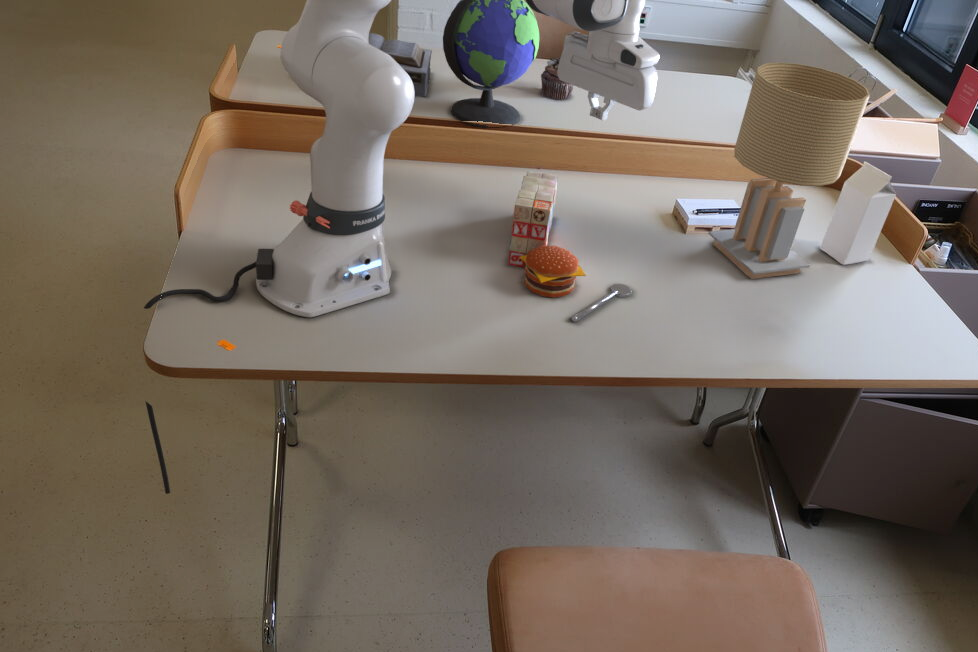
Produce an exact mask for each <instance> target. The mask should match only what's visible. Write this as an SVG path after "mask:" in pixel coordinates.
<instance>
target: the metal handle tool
mask: <svg viewBox="0 0 978 652" xmlns="http://www.w3.org/2000/svg"><path fill="white" fill-rule="evenodd" d="M631 294H632V288H631V287H630V286H628V285H626V284H623V283H615V284H613V285H611V287H610V293H608V294H606V295H605V296H603V297H601V298H600V299H598V300H597V301H595V302H593V303H592V304H590V305H589V306H587V307H586V308H584V309H582V310H580V311H578V313H576V314H574V315H573V316H572V317H571V321H572V322H573V323H576V322H578V321H579V320H581V319H582V318H584V317H586V316H587V315H589V314H590V313H592V312H593V311H595V310H597V309H598V308H600V307H601V306H603V305H604V304H606V303H607V302H609V301H611V300H612V299H614V298H615V297H619V298H628V297H630V296H631Z"/></svg>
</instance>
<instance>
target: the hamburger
mask: <svg viewBox="0 0 978 652" xmlns="http://www.w3.org/2000/svg"><path fill="white" fill-rule="evenodd" d="M519 258H520V259H522V260H523V261H524V262H525V263H526V267H524V271H525V273H524V276H523V284H524V285H525V287H526V288H527V289H528V290H529V291H530V292H532V293H533V294H536V295H538V296H541V297H547V298H561V297H562V298H563V297H565V296H567V295H570V293H572V292H573V291H574V289H575V284H576V279H577V277H586V276H587V274H586V273H585V271H584V270H583V269H582V267H581V266H580V264H579V259H578V258H577V256H575V255H574V254H573V253H572V252H571V251H570V250H569V249H567V248H563V247H561V246H558V245H550V244H549V245H548V244H547V245H542V246H539V247H537V248H535V249H532V250H530V251H529V252H528V254H527V255H524V256H520V257H519Z"/></svg>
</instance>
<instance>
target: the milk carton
mask: <svg viewBox="0 0 978 652" xmlns="http://www.w3.org/2000/svg"><path fill="white" fill-rule="evenodd" d="M892 178H893V176H892V175H890V174H888V173H886V172H885V171H884V170H881V169H879V168H878V167H876V166H874V165H872V163H869V162H867V161H863V164H862V166H861V167H860V168H859V169H858V170H856V171H855V172H853V174H852V175H851V176H850V177H848V178H847V179H846V180H845V181H844V183H843V186H842V187H841V191H840V193H839V196H838V198H837V202H836V204H835V207H834V209H833V213H832V215H831V218H830V221H829V223H828V226H827V228H826V231H825V234H824V237H823V239H822V242H821V244H820V247H819V249H820V250H821V251H822V252H824V253H825V254H827V255H828V256H830V257H831V258H833V259H834V260H836V261H837V262H838V263H840V264H841V265H842V266H846V265H852V264H857V263H864V262H868V261H869V260H870V259H871V256H872V254H873V251H874V249H875V248H876V244H877V241H878V240H879V238H880V234H881V232H882V229H883V227H884V225H885V222H886V220H887V218H888V216H889V213H890V211H891V208H892V206H893V203H894V201H895V198H896V196H897V193H896V191H895V188H894V187H893V185H892V183H891V180H892Z"/></svg>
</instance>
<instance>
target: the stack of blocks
mask: <svg viewBox="0 0 978 652" xmlns="http://www.w3.org/2000/svg"><path fill="white" fill-rule="evenodd" d="M558 178H559V176H558V175H555V174H549V173H541V172H536V171H531V170H530V171H529V170H527V172H526V174H525V175H523V177H522V181H521V187H520V189H519V191H518V195H517V198H516V200H515V203H514V210H513V219H512V226H511V238H510V245H509V251H508V259H507V265H508V266H512V267H520V268H525V267H526V263H525V262H524V261H523V260H522V259H520V258H519V257H520V256H524V255H527V254H528V252H529V251H530V250H532V249H535V248H537V247H539V246H542V245H548V241H549V234H550V232H551V230H552V229H551V228H552V224H553V218H554V211H555V210H554V209H555V204H556V198H557V187H558Z"/></svg>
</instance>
